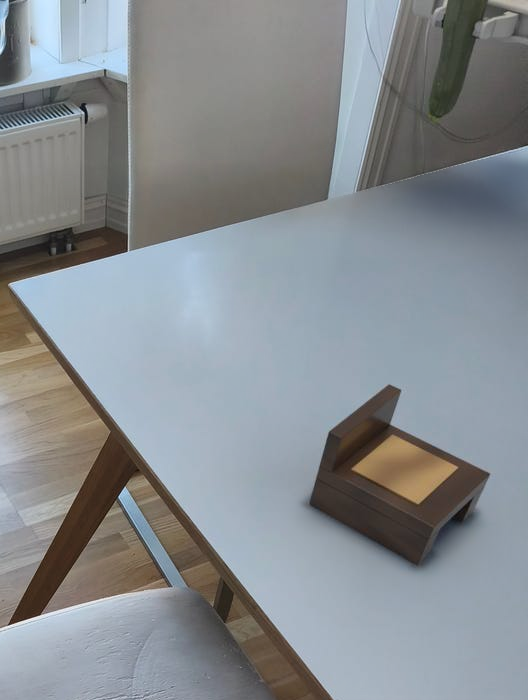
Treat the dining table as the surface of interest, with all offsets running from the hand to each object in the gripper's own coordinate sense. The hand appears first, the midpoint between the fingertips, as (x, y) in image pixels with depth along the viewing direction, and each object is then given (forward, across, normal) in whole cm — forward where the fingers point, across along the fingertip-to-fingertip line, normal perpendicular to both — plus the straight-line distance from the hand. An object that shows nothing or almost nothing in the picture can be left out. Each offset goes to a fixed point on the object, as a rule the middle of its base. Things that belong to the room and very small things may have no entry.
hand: (458, 25), depth 104 cm
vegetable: (-1, 0, +11) cm, 11 cm away
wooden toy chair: (+49, +35, +24) cm, 64 cm away
